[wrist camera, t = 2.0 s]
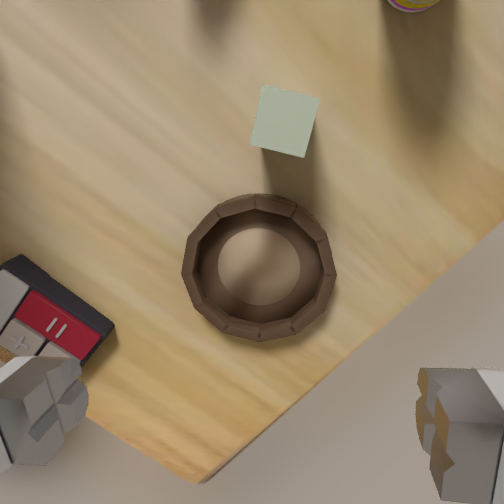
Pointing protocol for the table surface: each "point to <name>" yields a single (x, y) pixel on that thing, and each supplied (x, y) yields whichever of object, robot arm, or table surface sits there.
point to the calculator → (46, 315)
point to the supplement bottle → (412, 4)
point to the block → (284, 120)
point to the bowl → (259, 267)
